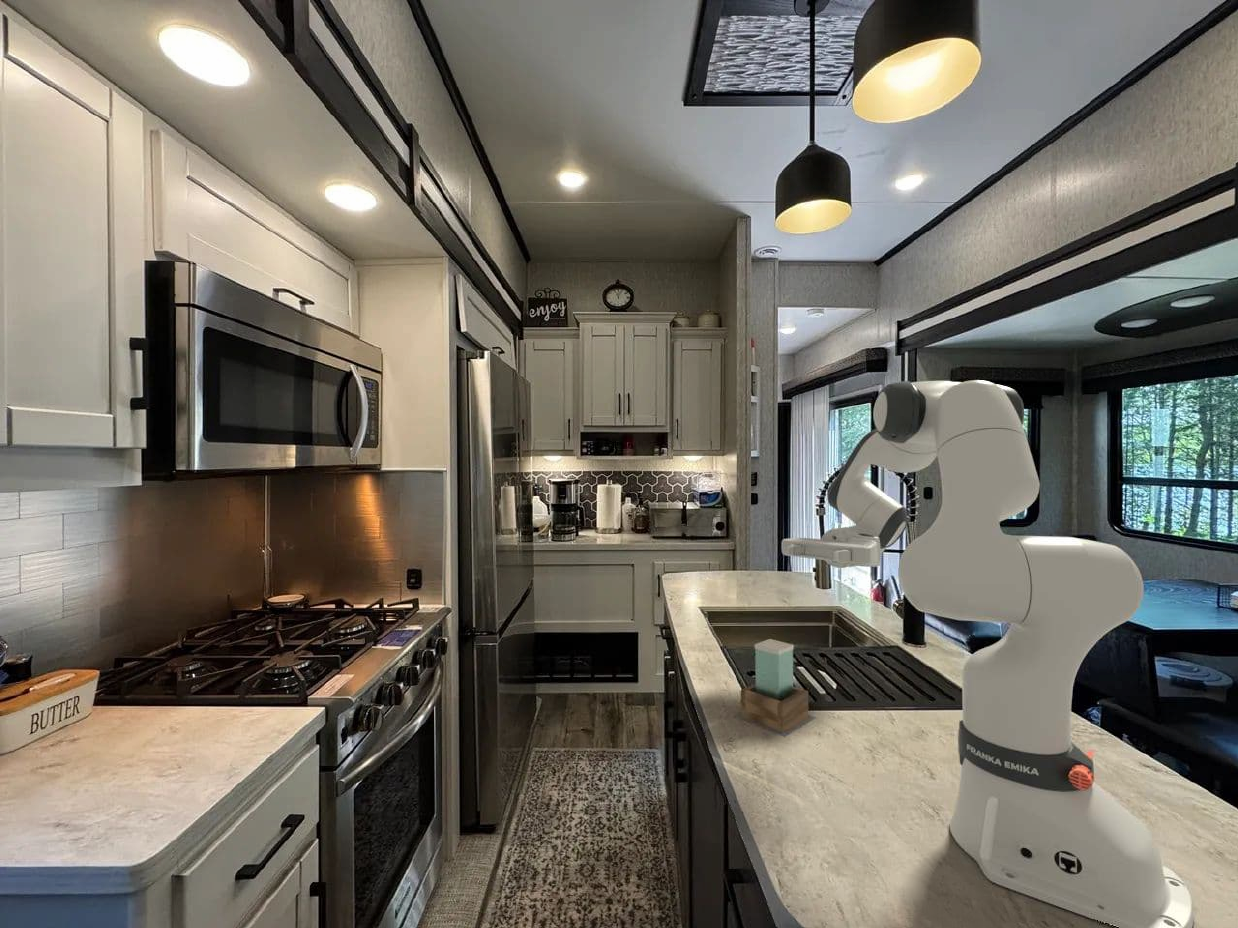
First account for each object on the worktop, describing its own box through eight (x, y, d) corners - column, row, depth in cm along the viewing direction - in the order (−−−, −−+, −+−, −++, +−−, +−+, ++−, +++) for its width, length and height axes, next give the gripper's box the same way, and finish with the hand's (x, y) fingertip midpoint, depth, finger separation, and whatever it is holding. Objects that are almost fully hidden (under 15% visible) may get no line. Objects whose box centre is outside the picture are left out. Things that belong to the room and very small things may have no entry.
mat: (816, 719, 104) (816, 717, 104) (785, 738, 97) (785, 736, 97) (765, 701, 112) (765, 699, 112) (733, 718, 105) (733, 716, 105)
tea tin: (794, 709, 104) (793, 644, 105) (779, 717, 101) (778, 650, 101) (770, 700, 108) (769, 638, 108) (755, 708, 105) (754, 644, 105)
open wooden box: (808, 717, 104) (808, 690, 104) (783, 732, 98) (782, 704, 98) (767, 702, 111) (767, 677, 111) (740, 716, 105) (740, 689, 105)
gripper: (799, 530, 132) (766, 534, 122) (887, 537, 116) (858, 543, 107) (799, 556, 132) (767, 563, 122) (887, 567, 116) (858, 575, 107)
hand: (810, 553), depth 115 cm, fingers open, 8 cm apart
